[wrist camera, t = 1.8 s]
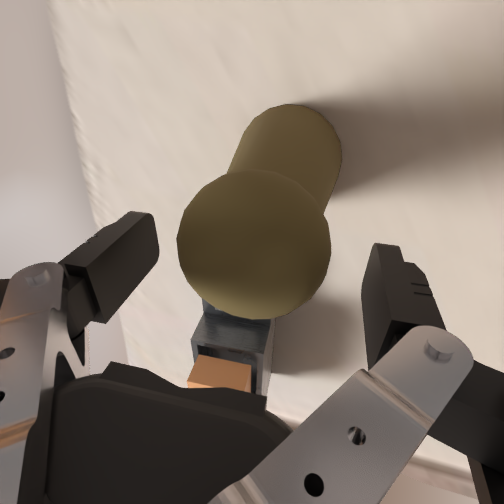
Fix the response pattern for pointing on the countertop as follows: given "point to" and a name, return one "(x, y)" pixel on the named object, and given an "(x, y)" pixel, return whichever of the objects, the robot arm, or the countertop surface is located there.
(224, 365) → the orange button
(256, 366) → the grey slotted housing
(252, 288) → the cork
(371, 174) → the countertop surface
